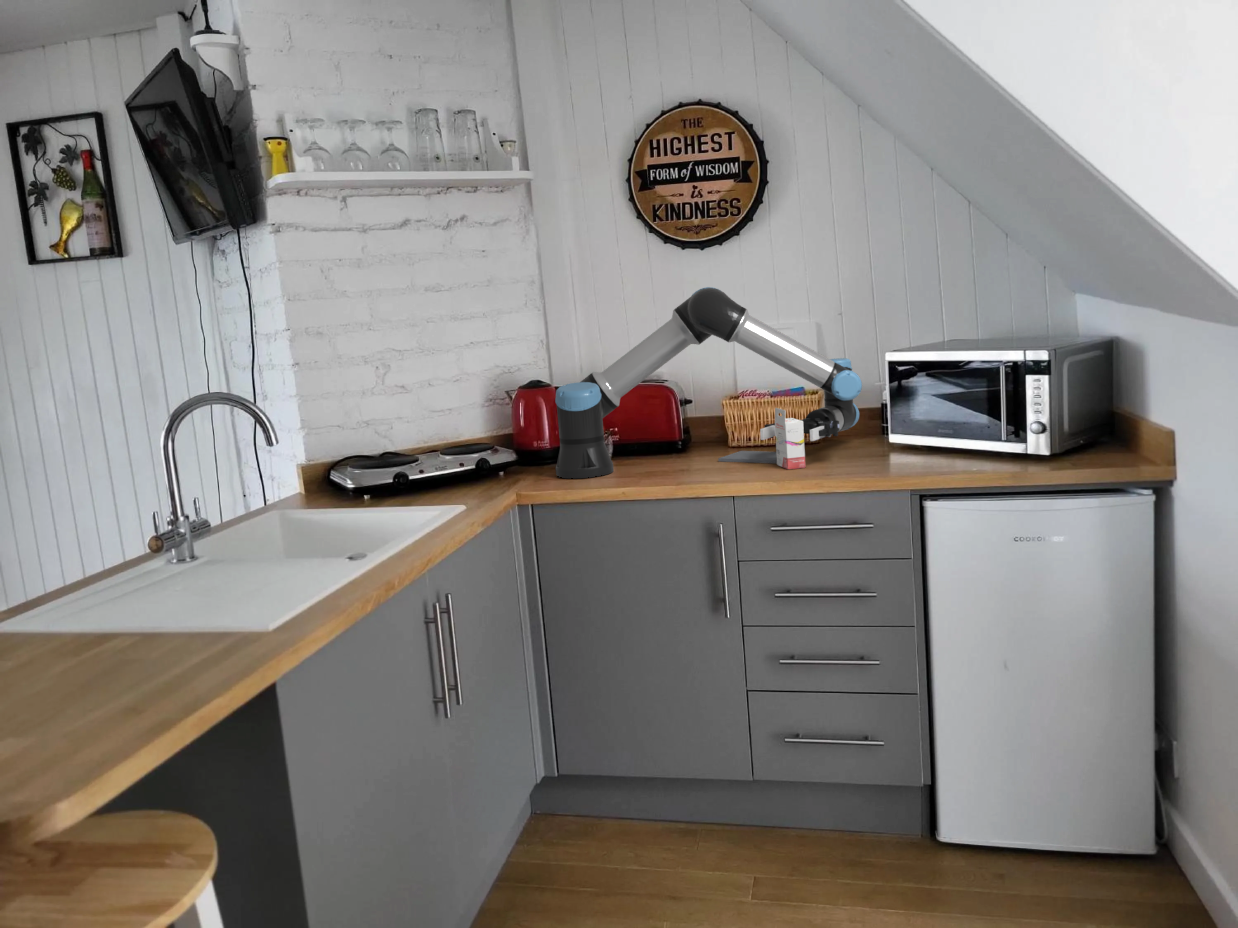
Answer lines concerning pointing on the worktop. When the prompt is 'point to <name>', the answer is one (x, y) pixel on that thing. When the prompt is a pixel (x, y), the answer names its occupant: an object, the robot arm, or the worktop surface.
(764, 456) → the charcoal mat
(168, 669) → the worktop surface
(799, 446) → the ink cartridge box
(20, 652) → the worktop surface
